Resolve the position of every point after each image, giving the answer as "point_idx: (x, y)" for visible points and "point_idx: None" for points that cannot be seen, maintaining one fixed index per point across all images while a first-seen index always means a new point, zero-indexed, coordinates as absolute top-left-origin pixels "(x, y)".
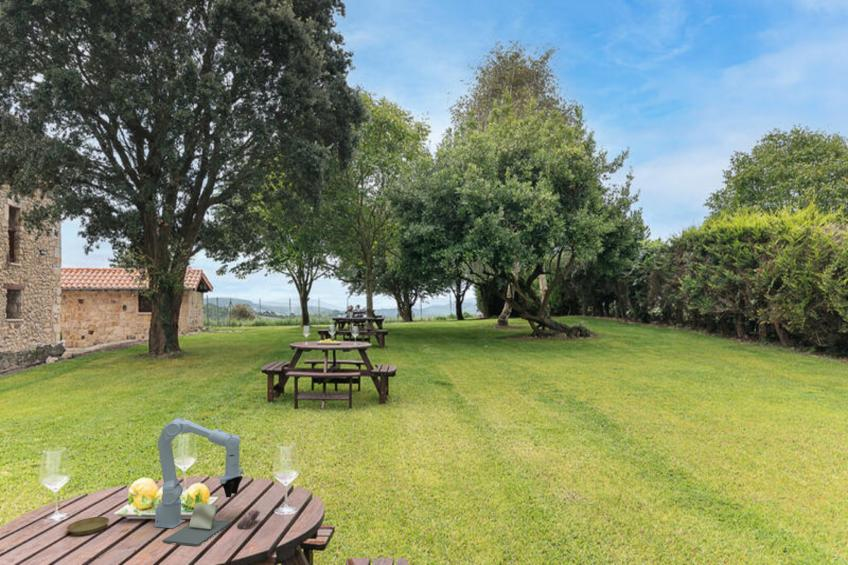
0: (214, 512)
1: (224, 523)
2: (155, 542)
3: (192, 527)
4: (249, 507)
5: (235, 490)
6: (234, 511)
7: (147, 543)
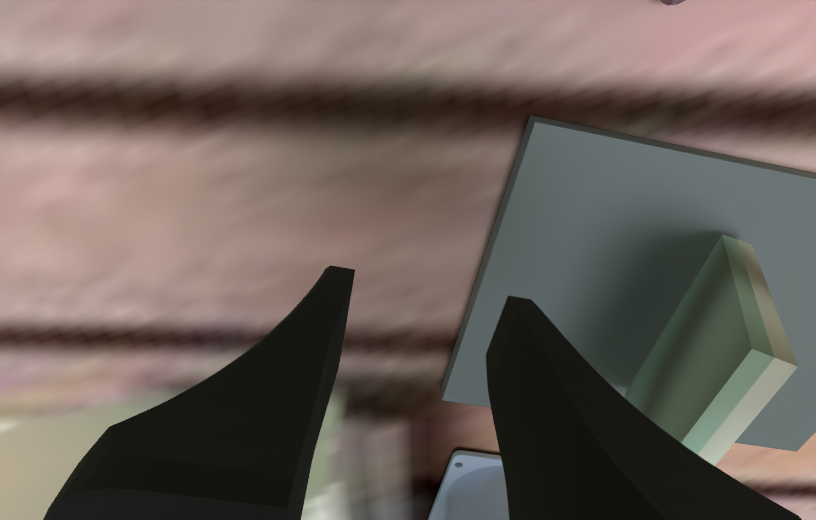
0: (777, 315)
1: (577, 174)
2: (763, 465)
3: (619, 377)
4: (67, 91)
5: (343, 318)
6: (215, 206)
7: (762, 490)
